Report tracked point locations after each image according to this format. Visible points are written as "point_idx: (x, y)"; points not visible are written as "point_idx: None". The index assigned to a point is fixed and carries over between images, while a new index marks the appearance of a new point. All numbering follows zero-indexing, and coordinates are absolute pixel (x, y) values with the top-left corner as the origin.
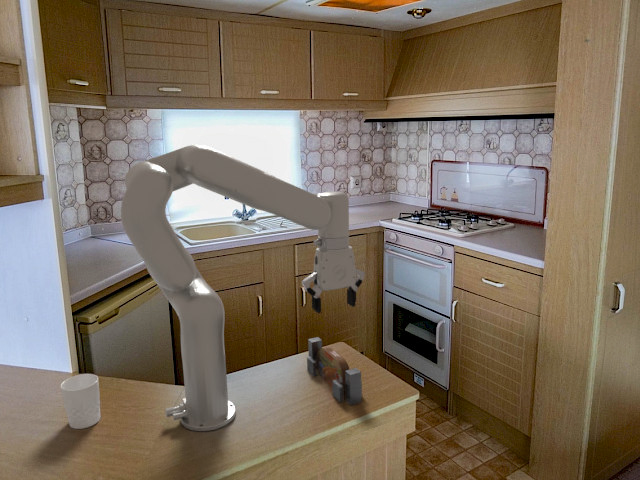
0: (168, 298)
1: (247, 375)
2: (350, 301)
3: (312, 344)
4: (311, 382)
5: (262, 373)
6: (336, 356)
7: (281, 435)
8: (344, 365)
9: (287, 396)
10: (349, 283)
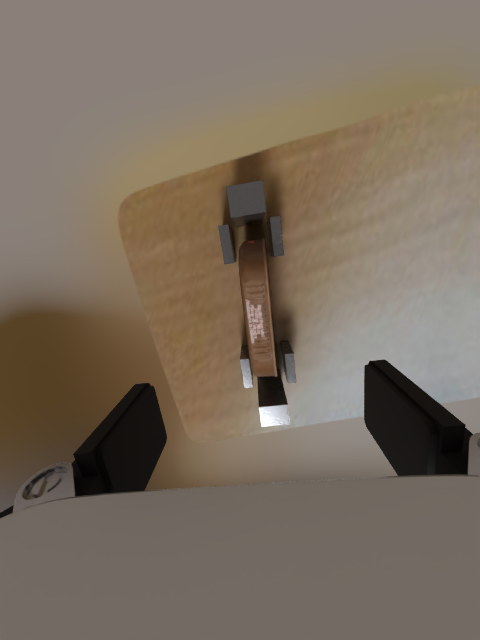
0: None
1: None
2: (149, 421)
3: (285, 400)
4: (300, 320)
5: None
6: (257, 304)
7: (442, 133)
8: (250, 259)
9: (367, 283)
10: (49, 542)
